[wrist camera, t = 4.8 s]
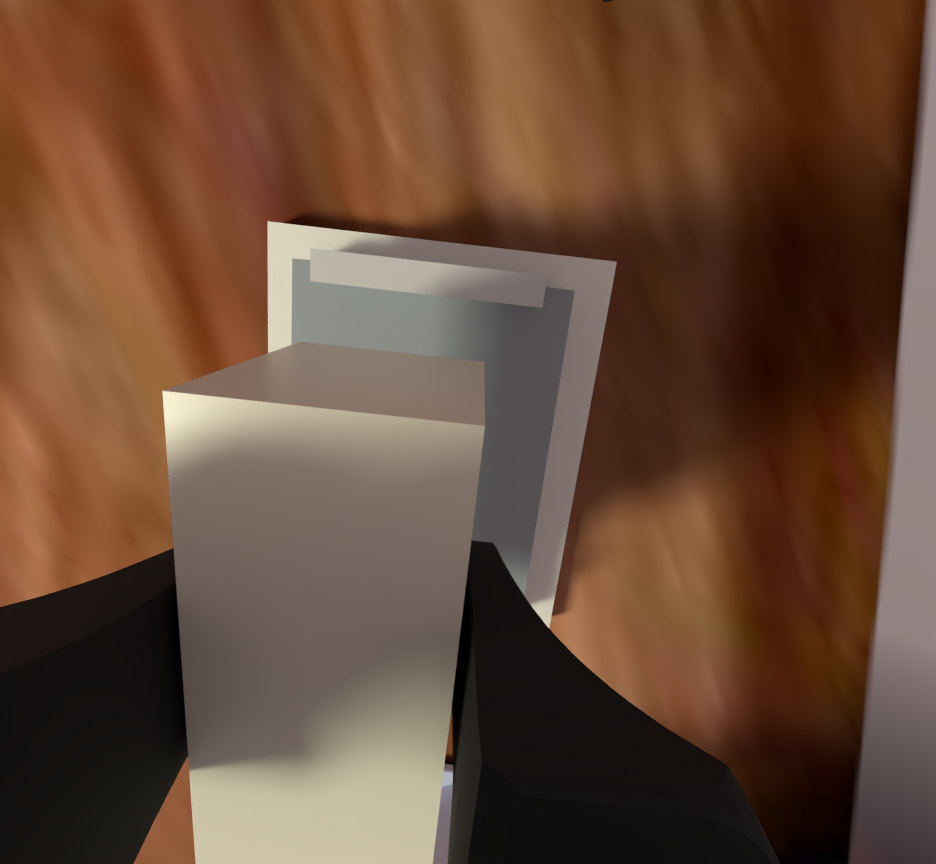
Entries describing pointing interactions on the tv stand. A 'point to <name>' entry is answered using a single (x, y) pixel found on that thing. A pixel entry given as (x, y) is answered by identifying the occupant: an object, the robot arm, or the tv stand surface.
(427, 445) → the cream rectangular box
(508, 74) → the tv stand surface
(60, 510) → the tv stand surface
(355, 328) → the display stand
